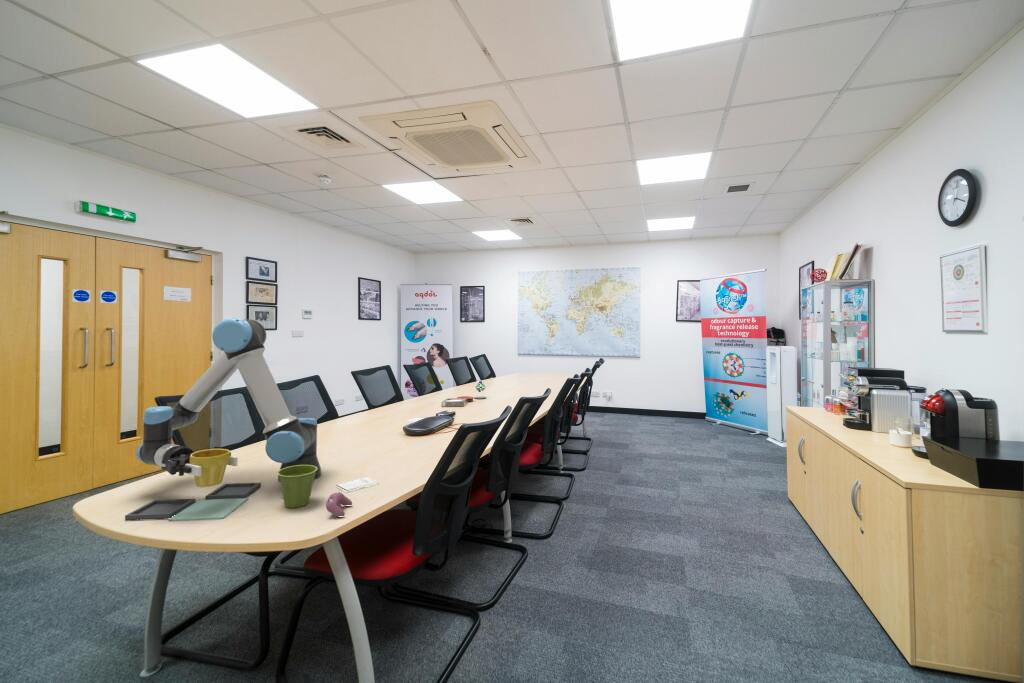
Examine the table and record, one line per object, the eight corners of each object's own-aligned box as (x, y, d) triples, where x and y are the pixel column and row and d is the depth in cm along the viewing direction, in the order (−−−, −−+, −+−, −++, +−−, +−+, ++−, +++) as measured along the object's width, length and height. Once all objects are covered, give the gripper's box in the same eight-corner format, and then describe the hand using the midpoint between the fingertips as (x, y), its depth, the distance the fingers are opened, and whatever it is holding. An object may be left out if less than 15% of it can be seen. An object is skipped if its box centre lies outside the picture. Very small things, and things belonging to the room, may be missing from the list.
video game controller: (340, 510, 135) (331, 491, 135) (353, 504, 135) (344, 485, 135) (330, 524, 125) (320, 503, 125) (345, 517, 126) (334, 496, 125)
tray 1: (194, 503, 135) (195, 498, 135) (169, 518, 123) (169, 513, 123) (154, 504, 134) (154, 500, 134) (124, 520, 122) (125, 515, 122)
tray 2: (260, 486, 151) (260, 482, 151) (244, 499, 139) (244, 494, 139) (225, 487, 149) (225, 483, 149) (205, 500, 137) (205, 496, 137)
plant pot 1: (233, 483, 131) (234, 452, 131) (193, 492, 123) (194, 459, 123) (224, 475, 138) (225, 446, 138) (185, 483, 130) (186, 452, 130)
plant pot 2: (271, 513, 129) (271, 476, 129) (283, 498, 140) (283, 465, 140) (312, 510, 131) (312, 474, 131) (320, 496, 143) (321, 463, 143)
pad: (248, 499, 139) (248, 498, 139) (223, 518, 124) (223, 517, 124) (199, 501, 137) (199, 499, 137) (168, 521, 122) (168, 519, 122)
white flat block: (336, 488, 152) (367, 480, 161) (346, 494, 146) (378, 485, 156) (336, 484, 152) (367, 476, 161) (346, 490, 146) (378, 481, 156)
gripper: (210, 459, 148) (253, 468, 139) (132, 478, 126) (177, 490, 118) (211, 438, 148) (254, 446, 139) (133, 454, 126) (178, 464, 118)
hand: (218, 466), depth 129 cm, fingers closed on plant pot 1, 10 cm apart
